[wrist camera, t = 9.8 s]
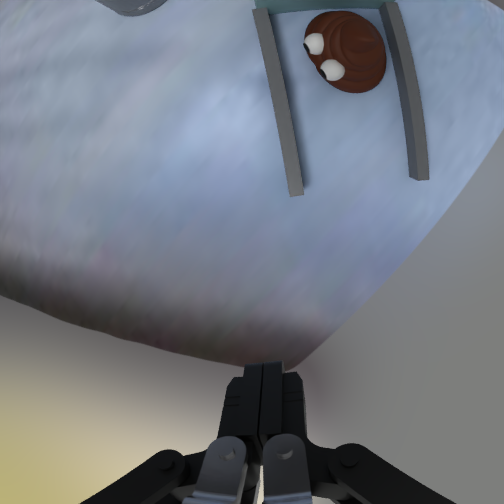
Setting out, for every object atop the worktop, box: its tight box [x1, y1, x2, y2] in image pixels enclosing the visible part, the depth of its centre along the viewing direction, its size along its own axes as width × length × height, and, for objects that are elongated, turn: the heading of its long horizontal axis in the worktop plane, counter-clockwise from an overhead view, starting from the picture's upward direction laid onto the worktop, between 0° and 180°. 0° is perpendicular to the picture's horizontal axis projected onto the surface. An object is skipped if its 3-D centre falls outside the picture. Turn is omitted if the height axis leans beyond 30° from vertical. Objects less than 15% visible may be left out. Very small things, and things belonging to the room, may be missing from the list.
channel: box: [252, 0, 429, 197], centre depth 26 cm, size 22×16×5 cm
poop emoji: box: [303, 11, 386, 93], centre depth 23 cm, size 10×9×9 cm
